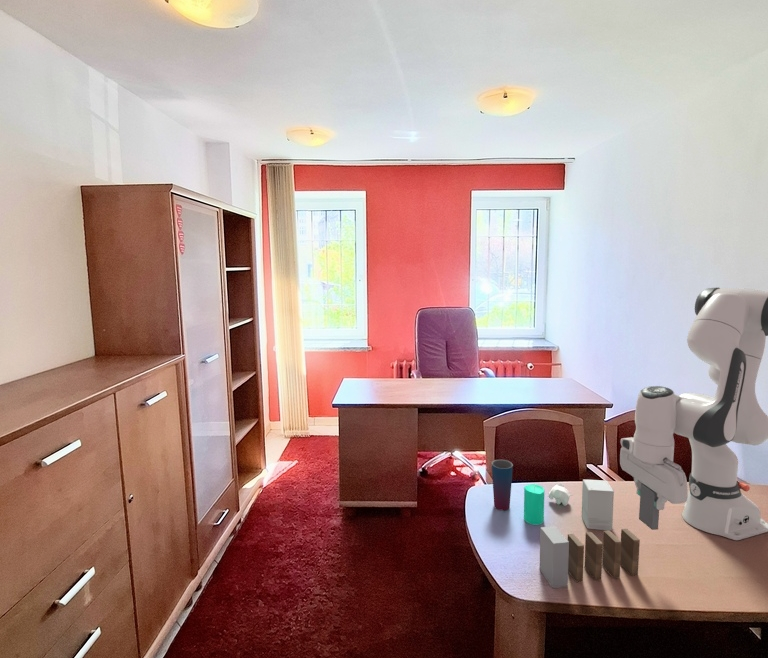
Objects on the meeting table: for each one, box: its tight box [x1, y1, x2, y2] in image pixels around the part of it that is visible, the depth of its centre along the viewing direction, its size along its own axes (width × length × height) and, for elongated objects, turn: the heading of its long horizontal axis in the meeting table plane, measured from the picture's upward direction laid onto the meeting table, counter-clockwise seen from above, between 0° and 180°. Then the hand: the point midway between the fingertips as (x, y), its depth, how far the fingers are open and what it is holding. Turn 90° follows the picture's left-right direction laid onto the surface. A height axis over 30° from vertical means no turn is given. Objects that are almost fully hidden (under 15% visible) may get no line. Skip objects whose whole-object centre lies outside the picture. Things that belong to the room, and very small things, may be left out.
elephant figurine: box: [547, 482, 573, 507], centre depth 150 cm, size 7×8×6 cm
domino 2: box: [584, 531, 603, 581], centre depth 115 cm, size 2×5×10 cm, turn 6°
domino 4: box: [620, 528, 641, 577], centre depth 116 cm, size 2×5×10 cm, turn 6°
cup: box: [491, 459, 514, 511], centre depth 148 cm, size 7×7×15 cm
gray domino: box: [638, 483, 660, 531], centre depth 115 cm, size 2×5×10 cm, turn 6°
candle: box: [523, 483, 545, 526], centre depth 140 cm, size 6×6×12 cm
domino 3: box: [602, 530, 621, 579], centre depth 116 cm, size 2×5×10 cm, turn 6°
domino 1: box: [567, 533, 585, 583], centre depth 115 cm, size 2×5×10 cm, turn 6°
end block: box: [539, 525, 569, 589], centre depth 114 cm, size 4×7×12 cm, turn 6°
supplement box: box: [581, 479, 615, 531], centre depth 137 cm, size 7×7×13 cm
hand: (649, 501), depth 115 cm, fingers closed on gray domino, 5 cm apart
